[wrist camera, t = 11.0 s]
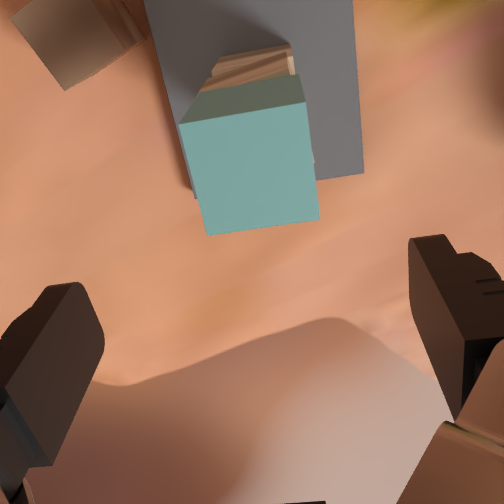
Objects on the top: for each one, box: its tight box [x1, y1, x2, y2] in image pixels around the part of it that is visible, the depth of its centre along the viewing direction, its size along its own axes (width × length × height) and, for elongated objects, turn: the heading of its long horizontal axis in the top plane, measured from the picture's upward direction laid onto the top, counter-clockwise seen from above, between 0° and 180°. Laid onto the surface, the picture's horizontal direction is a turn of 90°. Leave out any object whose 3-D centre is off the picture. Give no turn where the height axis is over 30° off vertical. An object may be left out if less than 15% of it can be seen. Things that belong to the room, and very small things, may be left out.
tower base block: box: [211, 44, 295, 77], centre depth 33 cm, size 5×5×6 cm
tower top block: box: [193, 52, 315, 163], centre depth 27 cm, size 5×5×6 cm
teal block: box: [178, 74, 320, 236], centre depth 22 cm, size 5×5×6 cm
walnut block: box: [10, 0, 146, 91], centre depth 32 cm, size 5×5×6 cm
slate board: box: [143, 0, 364, 199], centre depth 36 cm, size 16×14×1 cm
